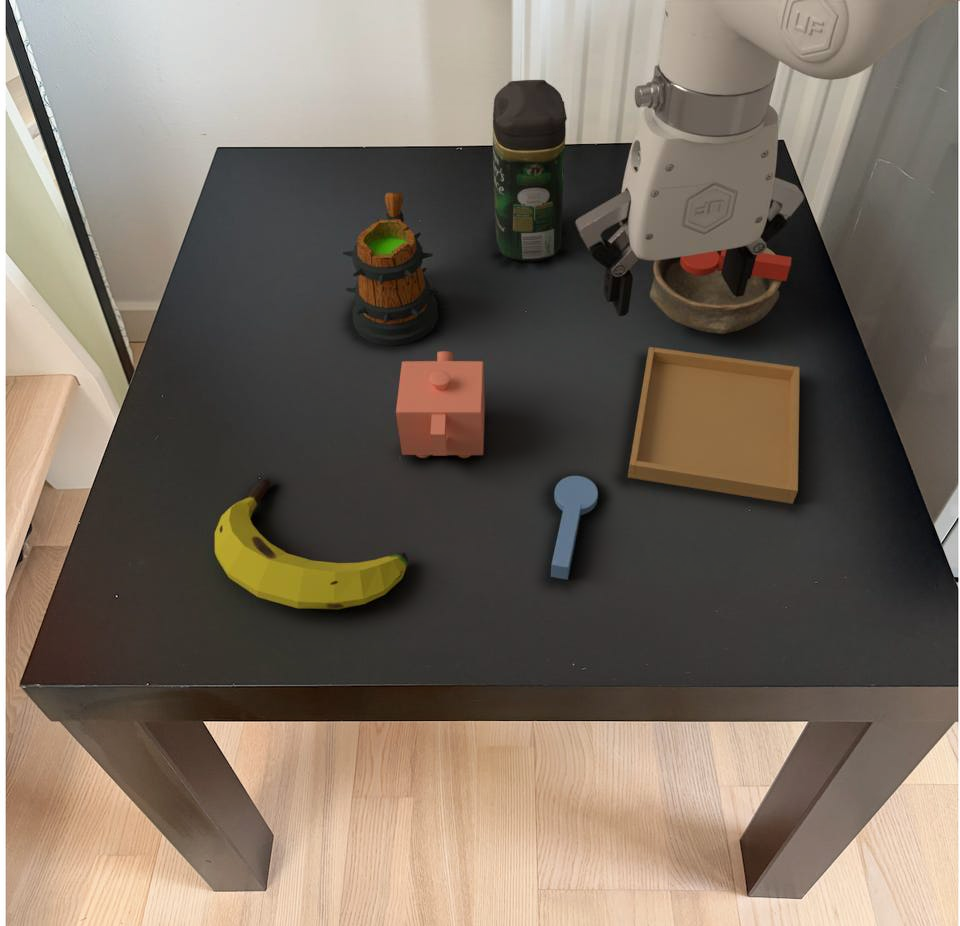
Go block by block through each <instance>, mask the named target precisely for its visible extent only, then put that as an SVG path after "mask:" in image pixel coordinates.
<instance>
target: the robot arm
mask: <svg viewBox="0 0 960 926" xmlns="http://www.w3.org/2000/svg"><path fill="white" fill-rule="evenodd" d="M956 2H960V0H666V1H665V9H664V17H663V24H662V25H663V26H662V33H661V39H660V47H659V48H660V49H659V57H658V63H657V65H655V66H654V68H653V69H654V71H653V77H652V79H651V81H648V82H646V84H642V85H637V86H636V87H635V88H634V102H635V105H636V107H637V108H638V109H639V108H643V112H642V113H641V117H640V119H639V122H638V124H637V127H636V129H635V133H634V136H633V139H632V143H631V145H630V146H631V147H630V150H629V153H628V158H627V162H626V166H625V170H624V175H623V180H622V187H621V191H620V192H621V193H619V194H617V195H616V196H614V197H612V198H611V199H609V200H607V201H605V202H604V203H601V204H600V205H598V206H597V207H595V208H593V209H591V210H590V211H588V212H586V213H585V214H583V215H581V216H579V217H578V218H577V219H576V220H575V223H574V225H575V228H576V229H577V232H578V234H579V236H580V238H581V240H582V242H583V243H584V245H585V246H586V248H587V250H588V252H589V253H590V255H591V257H592V259H594V260H595V261H596V262H598V263H599V264H601V265H602V266H604V267H605V271H604V279H603V280H604V282H603V295H604V297H605V300H606V301H607V302H608V303H612V306H613V307H614V310H615V311H616V314H617V316H618V317H623V316H627V314H629V310H630V305H631V304H630V303H631V296H632V288H633V282H634V278H633V274H632V272H631V268H632V267H633V266H634V265H635V264H636V263H637V262H639V260H643V261H655V260H663V259H670V258H676V257H683V256H689V255H695V254H702V253H708V252H714V251H720V250H726V254H725V258H724V262H723V267H722V271H721V274H722V277H723V279H724V280H725V282H726V284H727V285H728V287H729V289H730V290H731V292H732V293H733V295H734V296H736V297H739V296H743V295H744V293H745V289H746V285H747V281H748V279H750V278H751V275H752V271H753V268H754V264H755V260H756V256H757V255H758V254H761V253H762V252H764V251H765V249H766V248H767V243H768V242H769V241H770V240H771V239H772V238H773V237H775V236H776V235H777V234H779V233H780V232H781V231H782V230H783V229H784V228H785V227H786V226H787V224H788V223H787V220H788V218H791V217H792V215H794V213H795V212H796V211H797V209H798V208H799V207H800V205H801V204H802V203H803V201H804V199H805V195H804V194H803V192H802V190H800V188H799V186H797V185H796V184H794V183H791V182H789V181H786V180H783V179H781V178H778V177H776V170H777V162H778V161H777V160H778V145H779V114H778V112H777V111H776V109H775V108H774V107H773V106H771V100H772V95H773V90H774V86H775V83H776V78H777V74H778V73H777V72H778V68H779V64H780V62H781V63H782V64H784V65H785V66H786V67H789V68H790V69H792V70H794V71H796V72H799V73H801V74H803V75H805V76H807V77H811V78H813V79H814V78H815V79H820V80H827V81H828V80H829V81H832V80H842V79H846V78H849V77H852V76H855V75H857V74H860V73H861V72H862V73H863V72H864V71H865V70H866V69H868V68H870V67H871V66H873V65H875V63H877V62H878V61H879V60H880V59H882V58H883V57H884V56H885V55H887V54H888V53H889V52H890V51H891V50H892V49H893V48H894V47H896V46H897V45H898V44H899V43H900V42H902V41H903V40H905V38H907V37H908V36H909V35H910V33H912V32H913V31H915V29H917V28H918V27H919V26H920V25H921V24H923V23H924V22H925V21H926V20H927V19H928V18H930V17H931V16H932V15H934V14H935V13H936V12H937V11H939V10H940V9H941V8H943V7H945V6H948V5H951V4H954V3H956ZM772 201H773V202H772ZM771 202H772V203H771ZM618 223H619V226H620V227H619V229H618V230H617V231H616V232H614V234H613V235H612V236H611V237H610V238H609V239H608V240H607V239H606V238H605V237H603V236H602V233H603V232H604V231H605V230H608V229H609V228H611V227H612V226H614V225H616V224H618ZM626 246H627V247H626ZM623 249H625V250H623ZM622 250H623V251H622Z"/></svg>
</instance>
